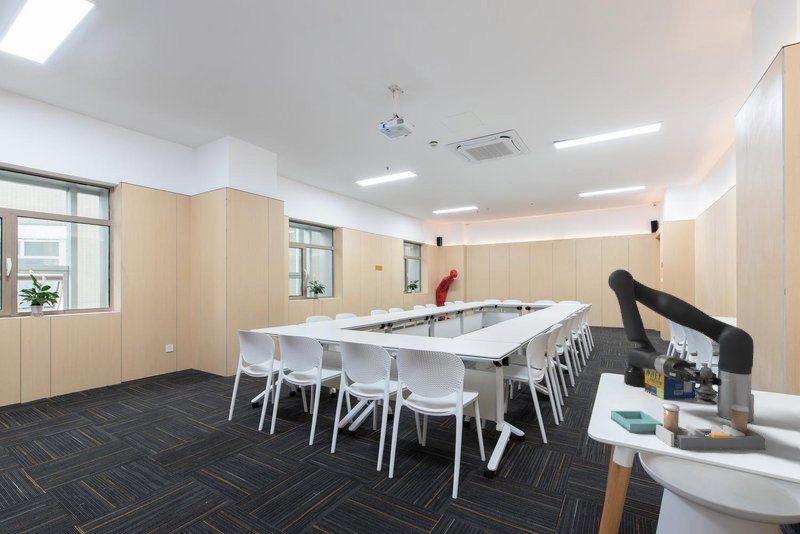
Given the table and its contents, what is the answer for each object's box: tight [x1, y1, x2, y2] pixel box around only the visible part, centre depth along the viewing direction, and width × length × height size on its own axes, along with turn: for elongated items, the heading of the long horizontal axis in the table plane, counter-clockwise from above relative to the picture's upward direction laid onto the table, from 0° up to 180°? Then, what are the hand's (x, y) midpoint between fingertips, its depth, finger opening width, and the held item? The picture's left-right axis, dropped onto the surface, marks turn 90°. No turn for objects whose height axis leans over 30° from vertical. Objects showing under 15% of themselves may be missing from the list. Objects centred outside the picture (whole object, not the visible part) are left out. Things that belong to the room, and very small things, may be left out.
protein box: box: [644, 356, 697, 400], centre depth 160 cm, size 10×15×16 cm
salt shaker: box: [694, 364, 718, 406], centre depth 118 cm, size 6×6×12 cm
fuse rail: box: [654, 424, 766, 451], centre depth 118 cm, size 29×12×4 cm, turn 90°
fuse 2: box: [730, 404, 749, 436], centre depth 118 cm, size 4×4×11 cm
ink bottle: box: [623, 358, 645, 388], centre depth 174 cm, size 10×9×12 cm
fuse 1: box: [662, 402, 681, 444], centre depth 118 cm, size 4×4×11 cm
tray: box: [610, 410, 664, 434], centre depth 128 cm, size 11×11×3 cm
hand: (713, 382), depth 115 cm, fingers closed on salt shaker, 3 cm apart
